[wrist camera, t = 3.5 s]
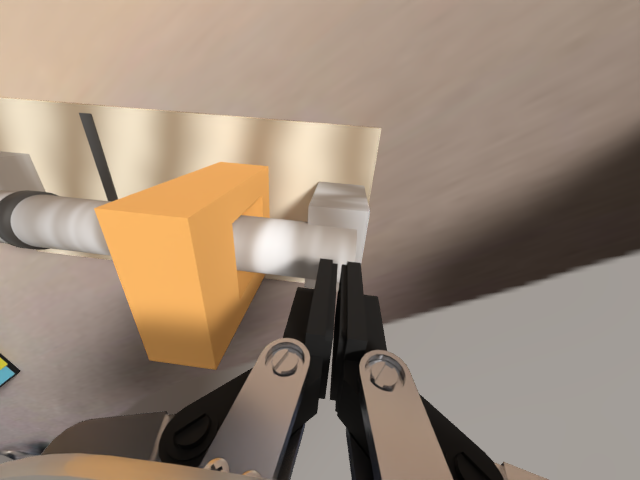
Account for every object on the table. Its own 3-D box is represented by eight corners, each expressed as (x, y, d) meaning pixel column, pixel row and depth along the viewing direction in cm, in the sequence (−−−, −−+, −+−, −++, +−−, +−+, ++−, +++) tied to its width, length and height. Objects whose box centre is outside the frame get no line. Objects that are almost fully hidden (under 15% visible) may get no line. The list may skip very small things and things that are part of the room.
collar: (268, 166, 15) (187, 218, 7) (270, 263, 18) (216, 369, 11) (220, 161, 15) (93, 208, 8) (231, 259, 18) (149, 360, 11)
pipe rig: (379, 127, 16) (403, 137, 9) (354, 281, 21) (357, 360, 14) (-25, 95, 17) (-265, 82, 11) (49, 245, 23) (-79, 301, 16)
